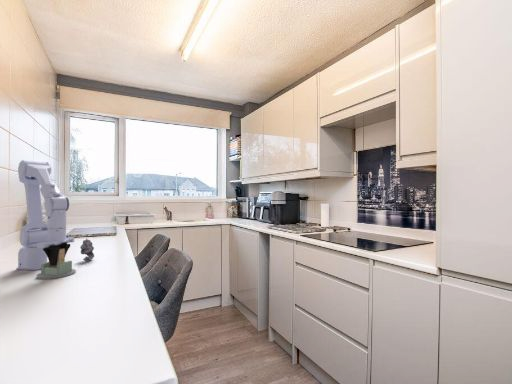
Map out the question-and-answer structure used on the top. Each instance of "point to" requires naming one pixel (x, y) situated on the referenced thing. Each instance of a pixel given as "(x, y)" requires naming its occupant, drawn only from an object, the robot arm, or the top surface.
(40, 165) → the robot arm
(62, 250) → the tan wooden block
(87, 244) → the grey lumpy tree figurine
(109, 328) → the top surface
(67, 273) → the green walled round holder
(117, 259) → the top surface
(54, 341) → the top surface
